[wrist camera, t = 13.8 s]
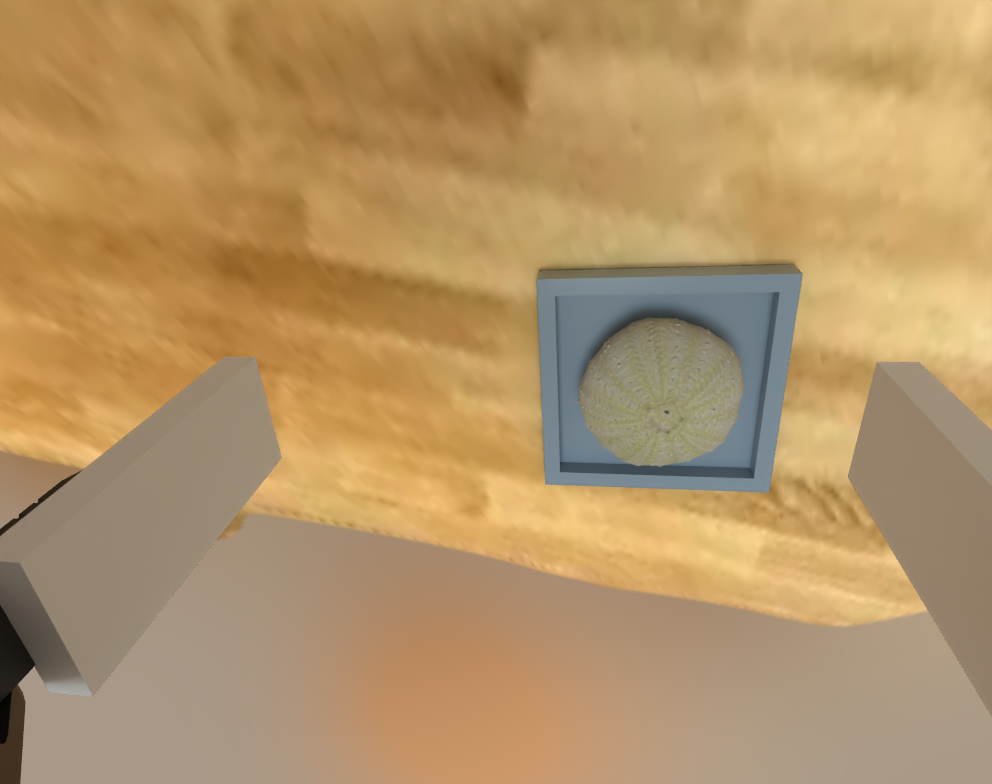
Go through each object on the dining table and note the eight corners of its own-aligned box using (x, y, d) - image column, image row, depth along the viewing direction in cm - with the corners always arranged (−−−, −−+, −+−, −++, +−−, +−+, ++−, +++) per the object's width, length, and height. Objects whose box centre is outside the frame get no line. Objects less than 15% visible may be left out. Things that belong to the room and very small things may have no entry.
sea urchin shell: (537, 386, 37) (617, 378, 30) (614, 303, 40) (705, 277, 33) (624, 492, 40) (718, 507, 32) (692, 407, 42) (792, 404, 35)
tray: (547, 469, 43) (545, 484, 41) (539, 270, 37) (536, 279, 35) (762, 476, 40) (769, 492, 39) (793, 264, 34) (802, 273, 32)
